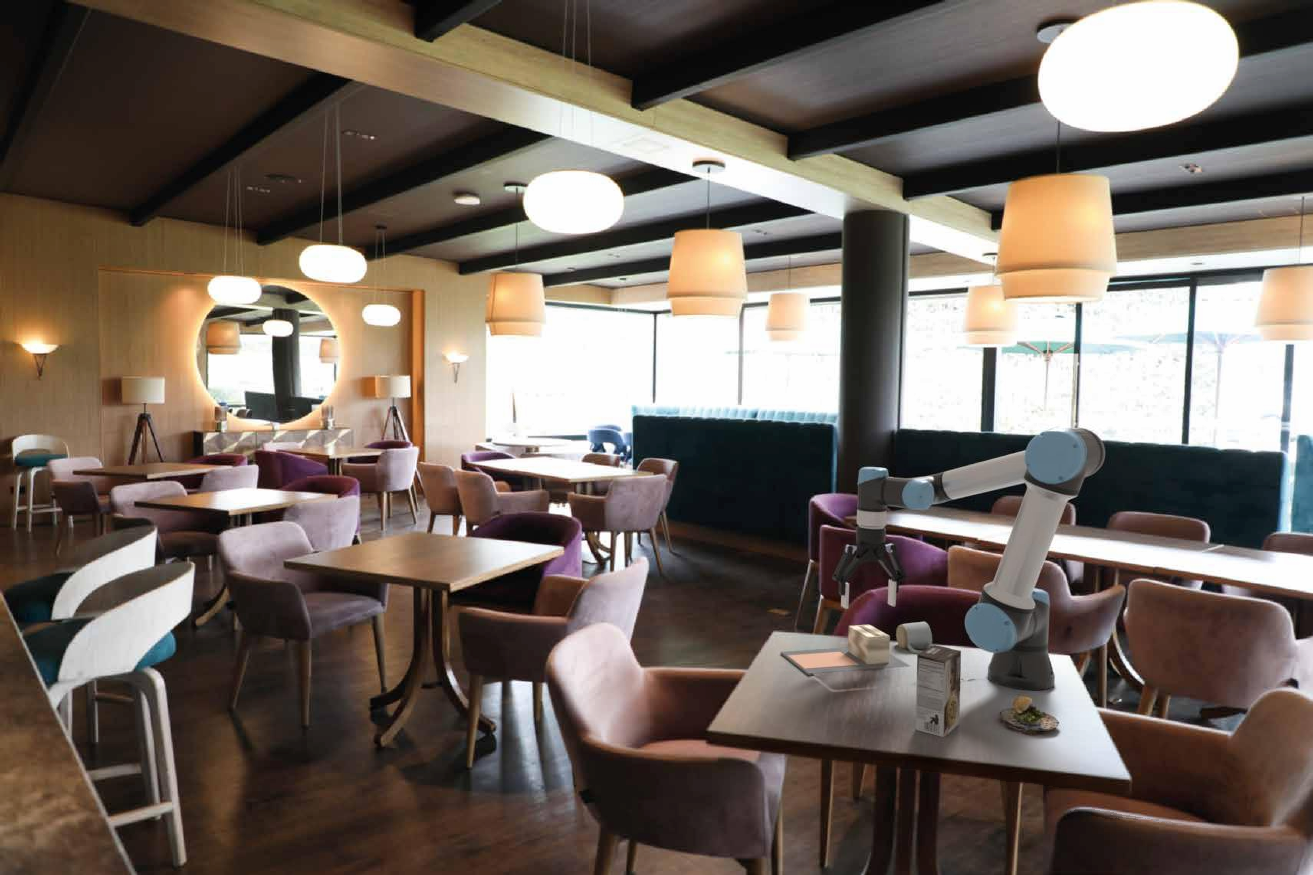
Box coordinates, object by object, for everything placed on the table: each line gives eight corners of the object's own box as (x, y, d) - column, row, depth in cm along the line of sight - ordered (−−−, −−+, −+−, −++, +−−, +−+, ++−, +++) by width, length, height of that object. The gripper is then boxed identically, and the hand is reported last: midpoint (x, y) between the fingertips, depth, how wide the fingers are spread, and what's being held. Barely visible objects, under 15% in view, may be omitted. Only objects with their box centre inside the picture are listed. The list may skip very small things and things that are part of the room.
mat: (910, 668, 218) (910, 665, 218) (808, 675, 211) (808, 673, 211) (875, 647, 235) (875, 644, 235) (780, 654, 228) (780, 651, 228)
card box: (889, 662, 220) (889, 635, 220) (867, 664, 219) (868, 636, 218) (868, 649, 231) (869, 623, 230) (848, 651, 229) (848, 625, 229)
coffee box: (930, 717, 185) (932, 643, 184) (960, 724, 181) (962, 649, 180) (913, 729, 178) (915, 653, 177) (944, 737, 174) (946, 660, 173)
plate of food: (1039, 741, 173) (1041, 705, 172) (987, 723, 182) (988, 688, 182) (1070, 728, 180) (1072, 693, 179) (1018, 711, 189) (1019, 678, 189)
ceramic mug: (894, 645, 237) (895, 619, 237) (921, 644, 238) (921, 618, 238) (909, 657, 227) (910, 630, 227) (937, 656, 228) (938, 629, 228)
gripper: (906, 522, 229) (903, 600, 231) (821, 524, 223) (818, 604, 225) (921, 527, 222) (918, 607, 224) (833, 529, 216) (831, 612, 217)
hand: (868, 606), depth 224 cm, fingers open, 13 cm apart
